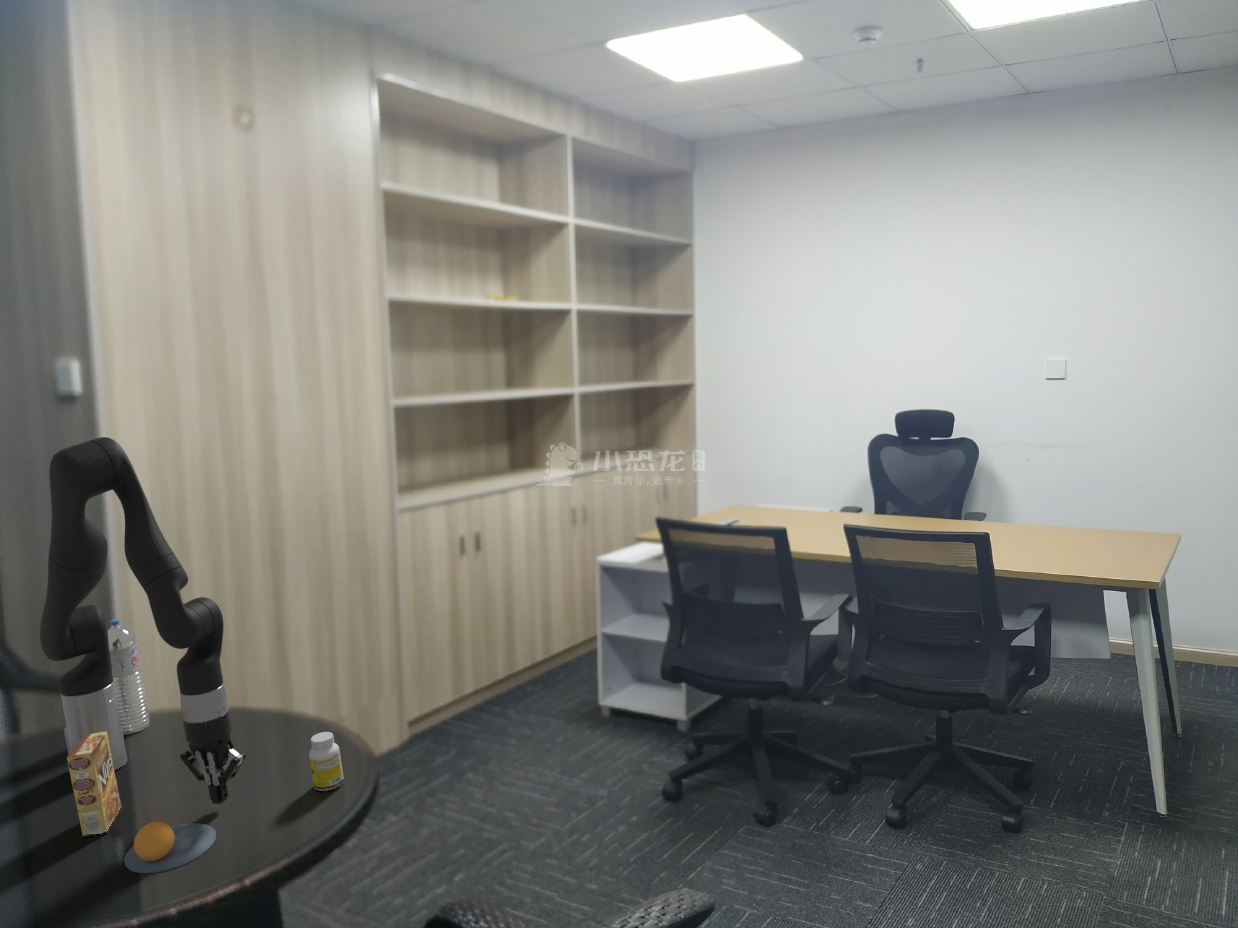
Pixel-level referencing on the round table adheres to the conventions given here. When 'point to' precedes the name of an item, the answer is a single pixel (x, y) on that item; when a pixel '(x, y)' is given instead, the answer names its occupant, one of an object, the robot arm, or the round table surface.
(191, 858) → the blue-grey plate
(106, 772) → the candy box
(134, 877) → the round table surface
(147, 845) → the ball
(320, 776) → the supplement bottle
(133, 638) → the water bottle
